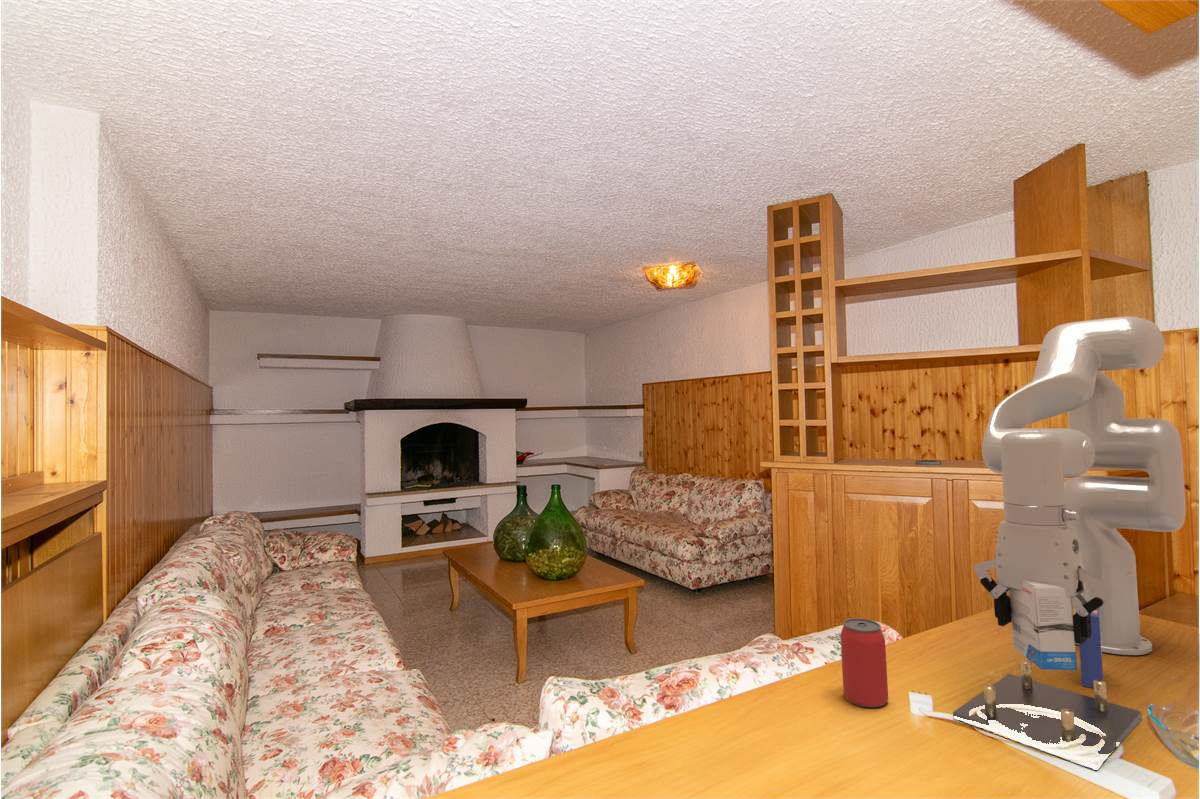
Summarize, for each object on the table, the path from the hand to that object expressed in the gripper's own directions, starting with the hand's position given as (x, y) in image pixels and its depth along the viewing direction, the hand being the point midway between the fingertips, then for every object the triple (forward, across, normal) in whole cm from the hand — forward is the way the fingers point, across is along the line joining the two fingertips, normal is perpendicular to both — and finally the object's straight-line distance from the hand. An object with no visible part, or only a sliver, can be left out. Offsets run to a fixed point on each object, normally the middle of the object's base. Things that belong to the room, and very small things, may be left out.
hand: (1041, 632), depth 89 cm
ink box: (+4, 0, 0) cm, 4 cm away
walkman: (+13, 0, -20) cm, 24 cm away
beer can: (+13, +20, +14) cm, 28 cm away
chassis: (+13, 0, 0) cm, 13 cm away
